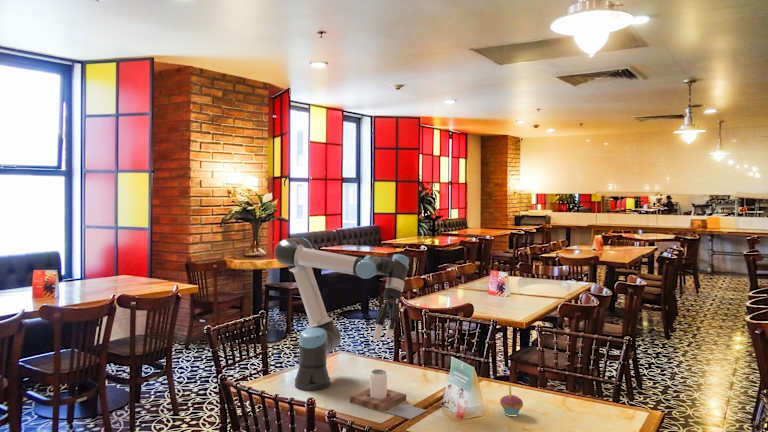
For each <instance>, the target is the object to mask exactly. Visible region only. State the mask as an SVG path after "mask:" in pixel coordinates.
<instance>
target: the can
mask: <svg viewBox="0 0 768 432" xmlns="http://www.w3.org/2000/svg"><path fill="white" fill-rule="evenodd" d="M369 388H370V397H372V398H375V399H379V400H382V399H384V398H386V397H387V389H388V375H387V371H386V370H384V369H373V370H372V371H371V374H370V387H369Z"/></svg>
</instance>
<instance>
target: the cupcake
mask: <svg viewBox="0 0 768 432" xmlns="http://www.w3.org/2000/svg"><path fill="white" fill-rule="evenodd" d="M508 388H509V389H508V391H509V394H507V395H504V396H502V397H501V398H500V402H499V405H500V406H501V407H502V409H503V412H504V415H505V414H508V415H517V414H518V415H519V412H520V410H521V409H522V408H523V407H524V402H523V400H522V399H521V398H520V397H519V396H517V395H514V394H512V386H511V385H509V386H508Z"/></svg>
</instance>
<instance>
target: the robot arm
mask: <svg viewBox="0 0 768 432" xmlns="http://www.w3.org/2000/svg"><path fill="white" fill-rule="evenodd" d="M273 253H274V258H275V259H276V260H277V262H278V263H279V264H281V265H283V266H287V268H288V271H289V272H291V273H292V274H293V275H294V279H295V282H296V285H297V288H298V290H299V295H300V297H301V301H302V303H303V306H304V310H305V313H306V315H307V319H308V322H309V324H308V326H307V328H306V329H304V330H302V331H301V332H300V333H299V339H298V342H299V343H298V344H299V349H298V350H299V351H298V353H299V355H298V358H299V359H298V362H299V363H298V370H297V372H296V375H295V379H294V387H295V388H297V389H300V390H303V391H319V390H320V391H321V390H323V389H327V388H328V387H330V386H331V378H330V375H329V371H328V368H327V355H328V354H329V353H331V352H333V351H334V350H336V349H337V347H339V345H340V343H341V341H342V334H341V330H340V328H339V327H338V326H337V325H335V323H334V321H333V319H332V318H330V317H329V316H328V313H327V310H326V307H325V303H324V300H323V298H322V295H321V291H320V289H319V286H318V283H317V280H316V277H315V274H314V271H313V268H316V269H320V270H321V269H322V270H326V271H332V272H337V273H341V274H348V275H353V276H357V277H359V278H361V279H371V278H373V277H374V276H377V275H380V276H387V279H386V283H385V285H384V286H385V287H384V288H385V289H384V291H383V294H382V295H383V298H384V299H385V300H386V301H382V302H381V303H382V304H381V306H380V309H379V312H378V314H377V317H376V319H375V321H374V324H376V326H375V328H374V329H375V330H374V335H373V338H372V339H373V340H375V341H378V342H379V341H380V340H381V336H382V331H383V327H384V326H385V325H384V322H385V321H386V320H387V319H386V318H387V317H388V315H389V318H388V323H387V327H386V332H385V335H384V337H385V338H388V339H393V335H394V331H395V326H396V323H397V321H399V319H400V304H401V303H400V302H401V300H402V296H403V290H404V288H405V283H406V282H405V281H406V279H407V278H406V277H407V275H408V270H409V264H410V259H409V257H408V256H406V255H404V254H401V253H396V254H393V255H392V257H391V258H387V257H383V256H382V257H380V256H376V255H368V254H367V255H365V256H364V258H363V257H358V256H351V255H347V254H341V253H335V252H334V253H333V252H330V251H323V250H320V249H314V248H313V245H312V244H311V242H310V241H309V240H308V239H307V238H305V237H299V236H295V237H290V238H284V239H282V240H280V241H278V242H277V244H276V245H275V247H274V251H273Z"/></svg>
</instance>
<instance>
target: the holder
mask: <svg viewBox="0 0 768 432" xmlns="http://www.w3.org/2000/svg"><path fill="white" fill-rule="evenodd" d="M370 388H371V387H369V388H367V389H364V390H361V391H360V392H357V393H353V394H352V395H350V396H349V403H350V404H353V405H356V406H357V405H358V406H360V407H364V408H368V409H370V410H374V411H378V412H380V413H384V412H387V411H389V410H391V409H393V408H395V407H397V406H399V405H401V404H403V403H404V402H406V401H407V394H406V393H403V392H399V391H395V390H392V389H388V388H387V397H386V398H384V399H382V400H379V399H375V398H372V397H370Z"/></svg>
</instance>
